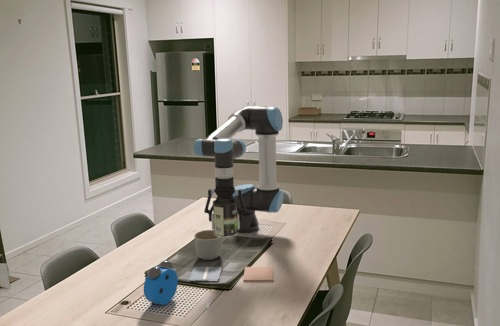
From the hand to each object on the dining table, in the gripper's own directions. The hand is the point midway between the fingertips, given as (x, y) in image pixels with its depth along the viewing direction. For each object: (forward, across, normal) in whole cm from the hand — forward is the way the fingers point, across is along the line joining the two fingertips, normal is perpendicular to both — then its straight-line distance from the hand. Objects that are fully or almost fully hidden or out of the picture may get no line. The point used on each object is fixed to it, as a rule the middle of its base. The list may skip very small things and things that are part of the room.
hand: (225, 228), depth 195 cm
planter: (+19, -9, +13) cm, 24 cm away
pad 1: (+19, -8, -5) cm, 21 cm away
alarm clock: (+19, -22, -27) cm, 40 cm away
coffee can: (+2, 0, 0) cm, 2 cm away
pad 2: (+18, +14, -6) cm, 24 cm away
